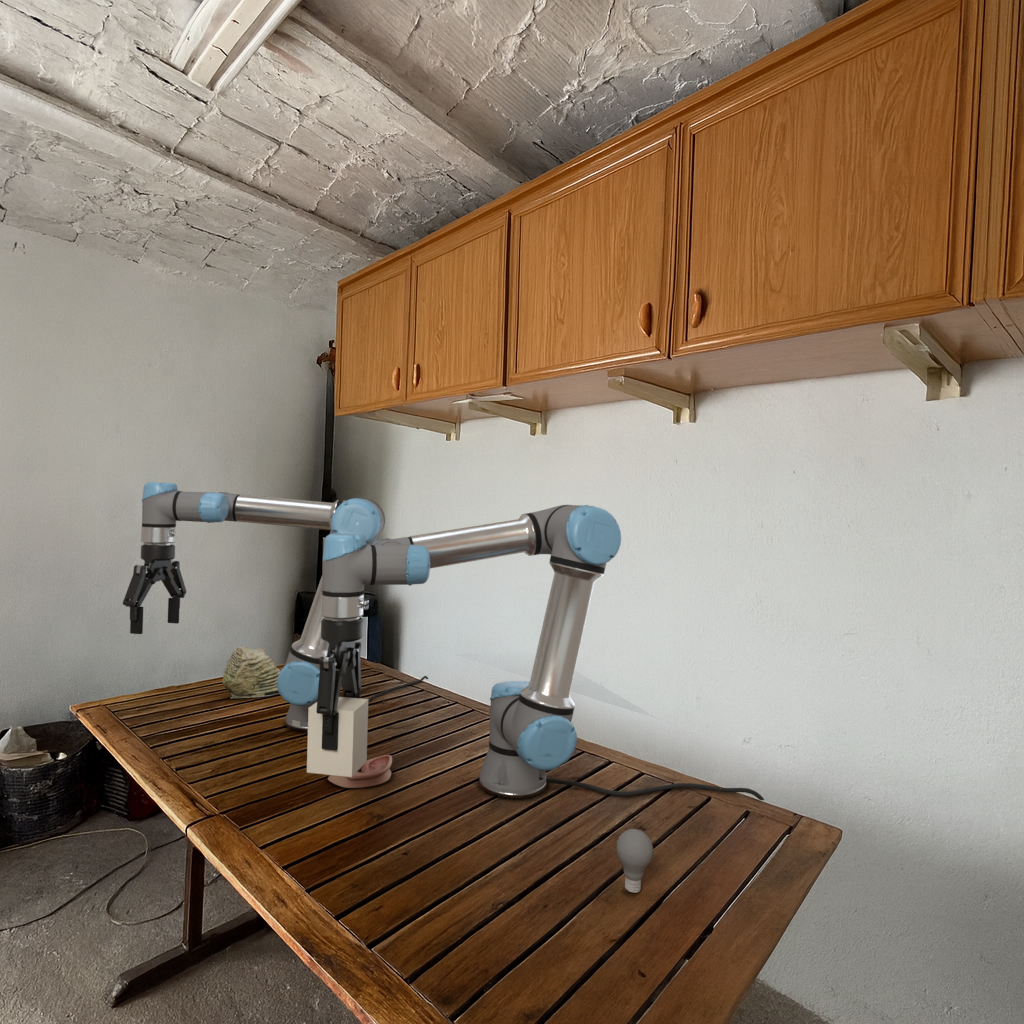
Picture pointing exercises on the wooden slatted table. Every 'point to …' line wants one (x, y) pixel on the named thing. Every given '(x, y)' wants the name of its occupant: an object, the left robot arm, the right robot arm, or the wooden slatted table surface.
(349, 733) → the block
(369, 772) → the anatomical model
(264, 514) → the left robot arm
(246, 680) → the fossil
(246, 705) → the wooden slatted table surface
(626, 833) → the light bulb
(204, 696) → the wooden slatted table surface
